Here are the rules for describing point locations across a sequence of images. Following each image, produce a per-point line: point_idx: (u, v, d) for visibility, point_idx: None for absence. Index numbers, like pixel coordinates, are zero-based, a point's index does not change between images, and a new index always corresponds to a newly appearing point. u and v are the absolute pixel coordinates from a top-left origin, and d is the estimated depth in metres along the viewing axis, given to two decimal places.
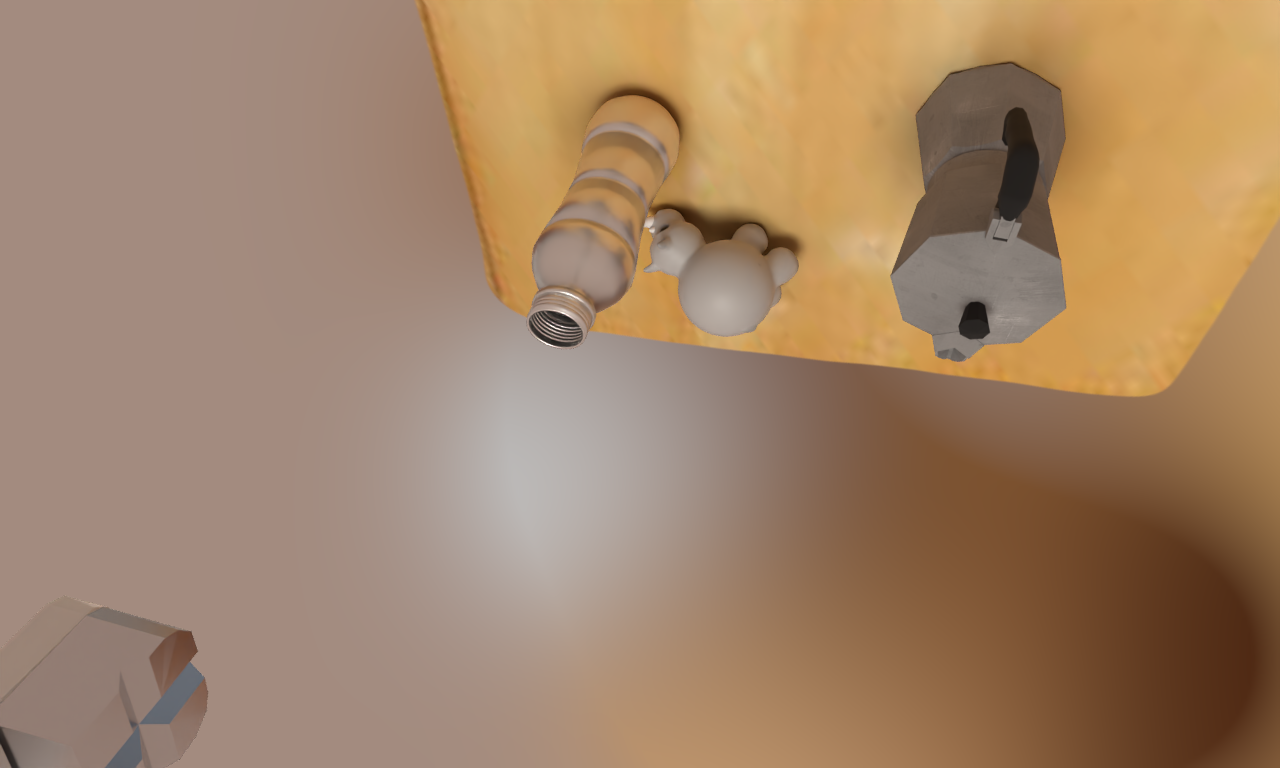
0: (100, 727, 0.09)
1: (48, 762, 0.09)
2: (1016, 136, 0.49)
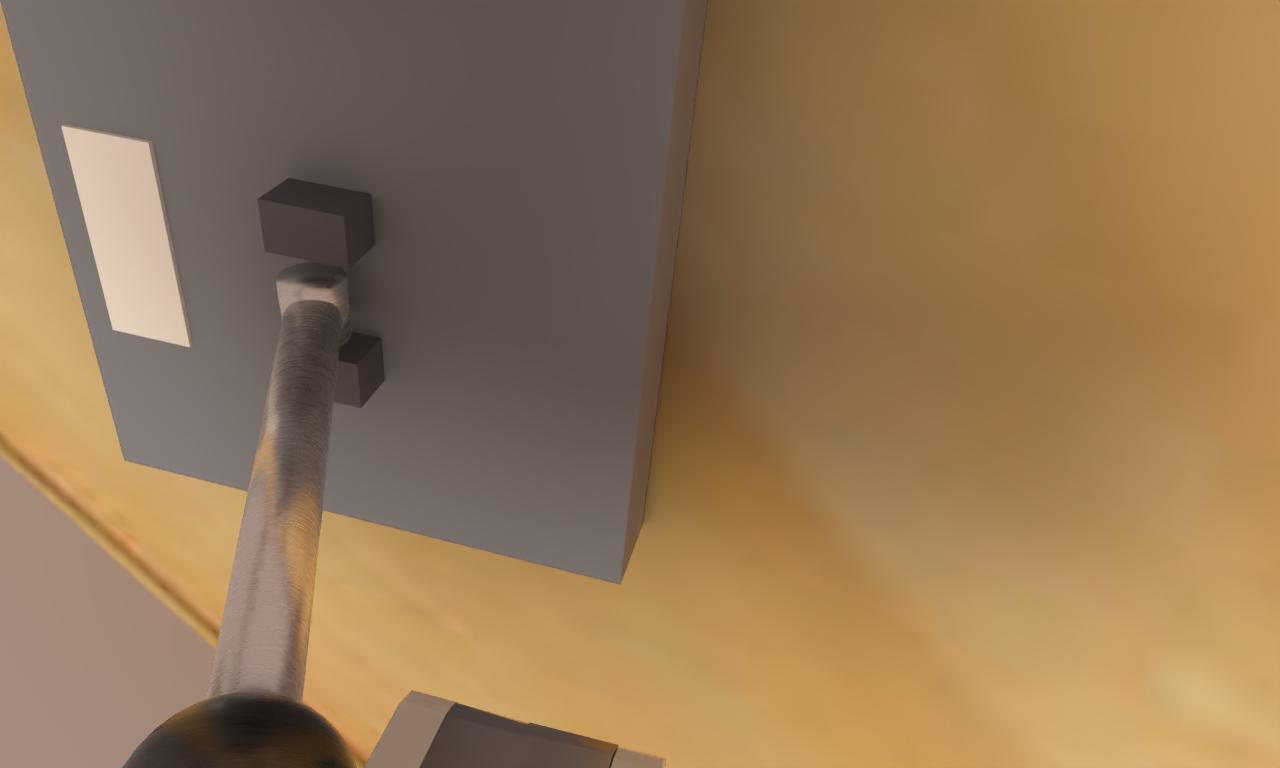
0: None
1: None
2: None
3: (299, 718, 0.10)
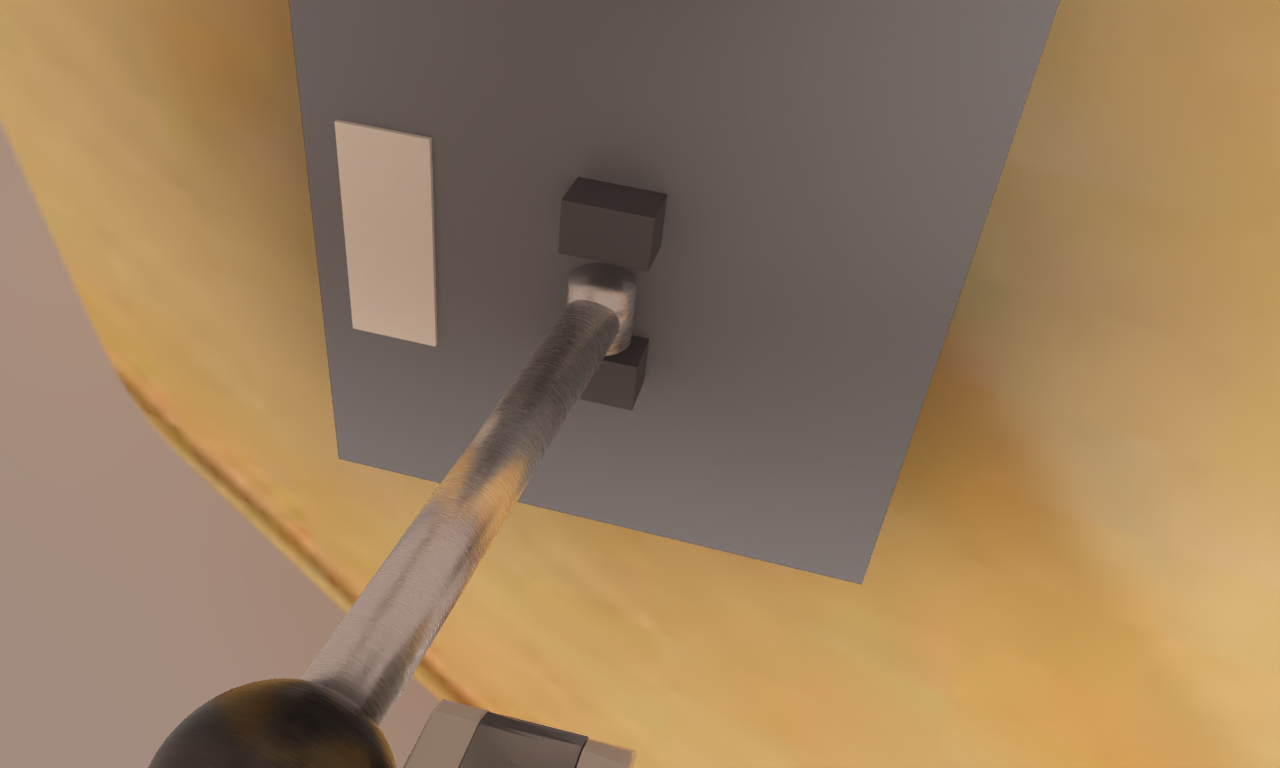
0: None
1: None
2: None
3: (347, 737, 0.09)
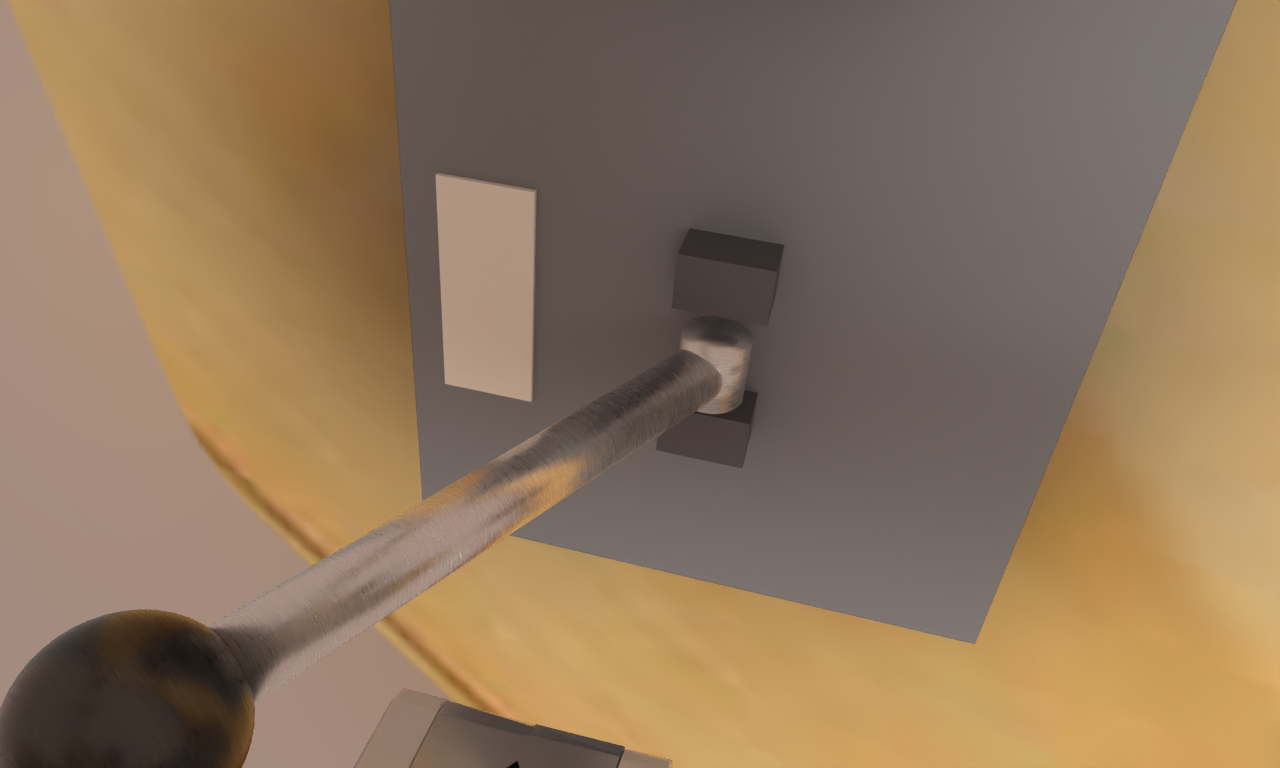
0: None
1: None
2: None
3: (185, 684, 0.10)
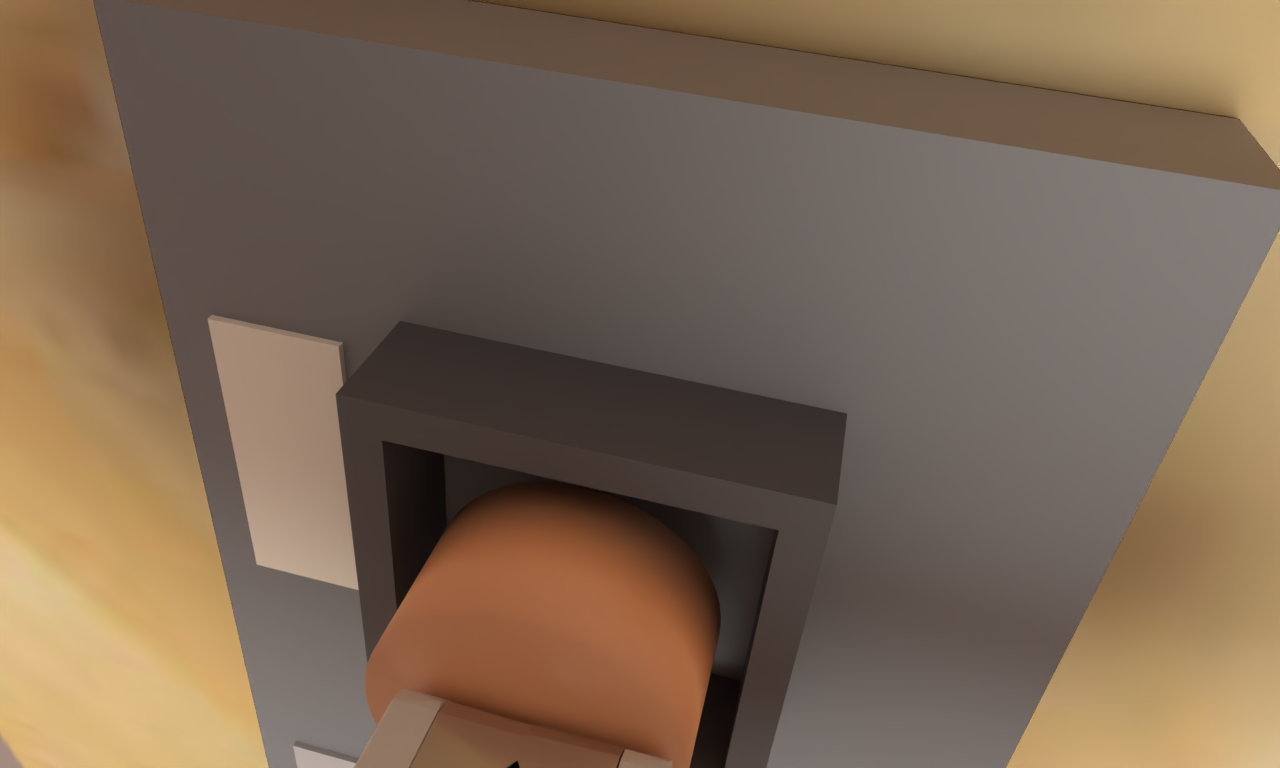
0: None
1: None
2: None
3: None
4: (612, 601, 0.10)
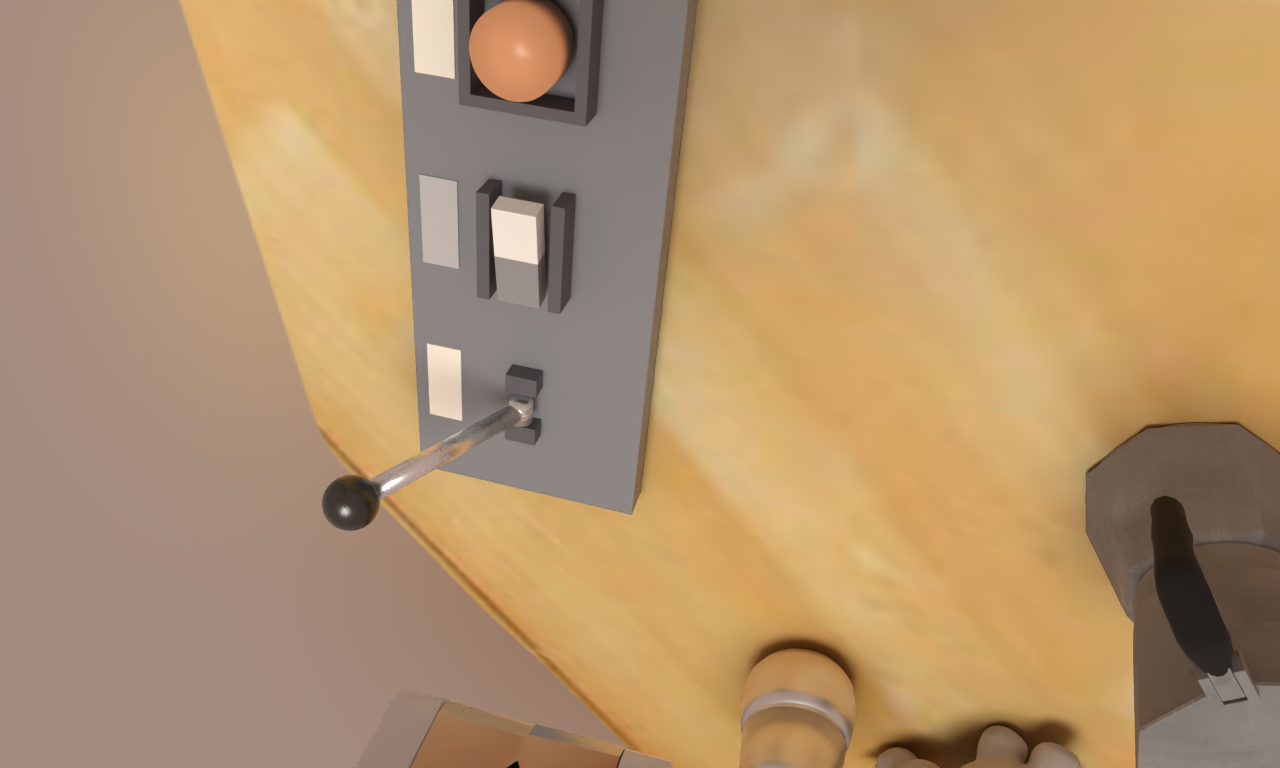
0: None
1: None
2: (1157, 551, 0.33)
3: (366, 489, 0.42)
4: (537, 9, 0.36)
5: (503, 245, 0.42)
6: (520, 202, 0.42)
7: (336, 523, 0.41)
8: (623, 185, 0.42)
